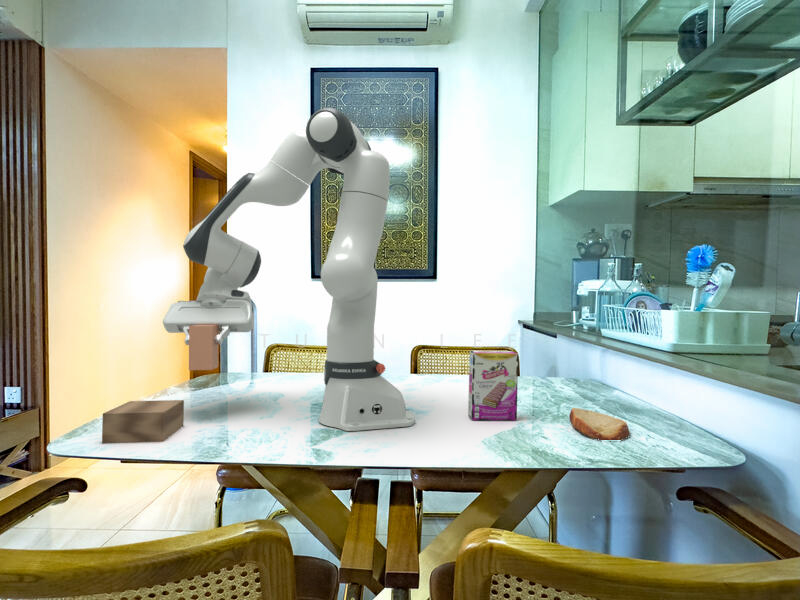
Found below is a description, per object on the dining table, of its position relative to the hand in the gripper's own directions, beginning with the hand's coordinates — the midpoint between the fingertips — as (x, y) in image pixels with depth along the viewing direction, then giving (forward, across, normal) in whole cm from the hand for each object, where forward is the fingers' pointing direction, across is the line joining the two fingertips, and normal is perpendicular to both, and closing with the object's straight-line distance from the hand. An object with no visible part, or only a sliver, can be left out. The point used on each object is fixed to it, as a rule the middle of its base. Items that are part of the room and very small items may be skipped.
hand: (203, 343), depth 99 cm
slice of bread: (+23, +89, +5) cm, 92 cm away
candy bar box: (+16, +68, +11) cm, 71 cm away
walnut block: (+19, -8, +6) cm, 22 cm away
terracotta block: (+4, 0, +5) cm, 6 cm away
